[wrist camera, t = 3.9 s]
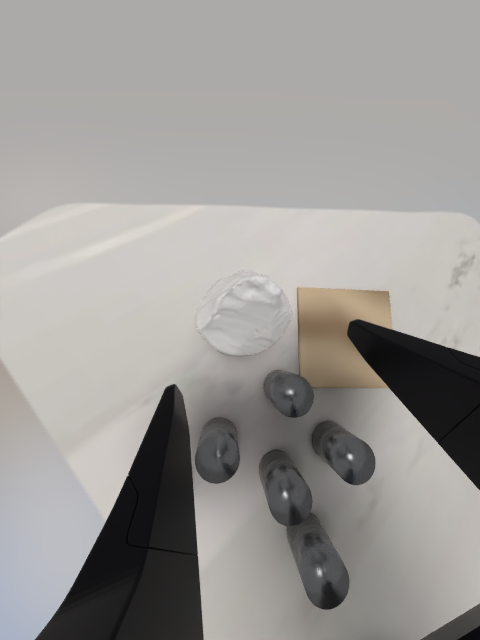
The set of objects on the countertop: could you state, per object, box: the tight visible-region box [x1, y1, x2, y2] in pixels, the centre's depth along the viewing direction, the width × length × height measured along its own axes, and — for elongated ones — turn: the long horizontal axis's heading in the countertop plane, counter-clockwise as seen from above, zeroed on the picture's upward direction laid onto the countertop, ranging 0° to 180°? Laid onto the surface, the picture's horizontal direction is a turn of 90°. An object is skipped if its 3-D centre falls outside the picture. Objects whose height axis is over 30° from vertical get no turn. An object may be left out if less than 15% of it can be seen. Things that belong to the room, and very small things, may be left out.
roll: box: [195, 270, 292, 356], centre depth 14 cm, size 6×12×6 cm
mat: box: [297, 287, 392, 388], centre depth 21 cm, size 10×10×1 cm
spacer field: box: [195, 370, 375, 610], centre depth 17 cm, size 16×14×4 cm
